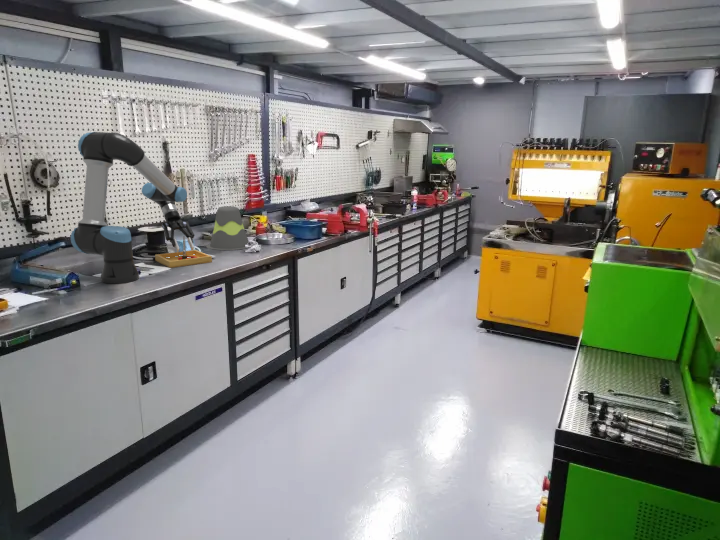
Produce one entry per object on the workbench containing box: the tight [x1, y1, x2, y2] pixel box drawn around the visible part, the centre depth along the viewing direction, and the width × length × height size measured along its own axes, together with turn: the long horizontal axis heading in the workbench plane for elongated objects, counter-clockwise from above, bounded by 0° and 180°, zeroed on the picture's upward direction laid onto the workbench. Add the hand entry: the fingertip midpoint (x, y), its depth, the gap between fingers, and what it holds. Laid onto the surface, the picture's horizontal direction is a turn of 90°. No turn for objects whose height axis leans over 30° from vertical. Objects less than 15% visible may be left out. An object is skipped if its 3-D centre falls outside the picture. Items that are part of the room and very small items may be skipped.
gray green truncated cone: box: [205, 205, 250, 251], centre depth 290 cm, size 28×28×24 cm
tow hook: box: [178, 235, 197, 260], centre depth 250 cm, size 8×13×9 cm
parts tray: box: [154, 249, 213, 269], centre depth 249 cm, size 22×20×3 cm
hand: (185, 249), depth 245 cm, fingers open, 7 cm apart
